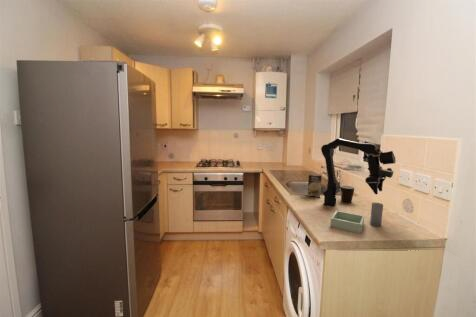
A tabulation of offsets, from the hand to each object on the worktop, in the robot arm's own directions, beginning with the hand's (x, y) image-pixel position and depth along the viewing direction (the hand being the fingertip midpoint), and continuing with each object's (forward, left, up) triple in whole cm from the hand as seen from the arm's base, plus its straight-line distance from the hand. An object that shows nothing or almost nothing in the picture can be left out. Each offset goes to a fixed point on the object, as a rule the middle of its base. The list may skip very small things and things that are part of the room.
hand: (378, 192), depth 131 cm
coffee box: (-41, +19, -14) cm, 47 cm away
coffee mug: (-19, +21, -14) cm, 32 cm away
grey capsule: (0, -15, -14) cm, 20 cm away
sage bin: (-12, -25, -14) cm, 31 cm away
